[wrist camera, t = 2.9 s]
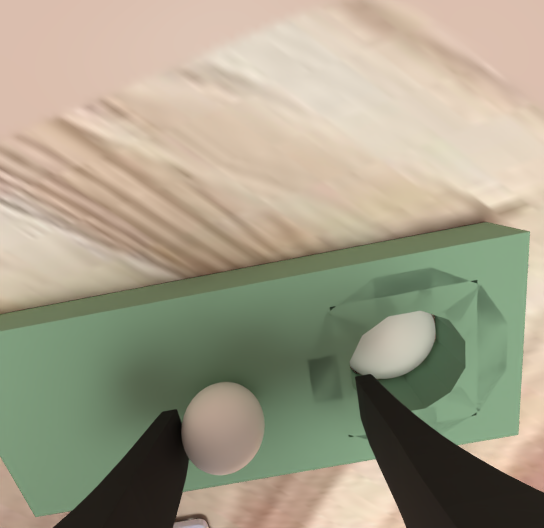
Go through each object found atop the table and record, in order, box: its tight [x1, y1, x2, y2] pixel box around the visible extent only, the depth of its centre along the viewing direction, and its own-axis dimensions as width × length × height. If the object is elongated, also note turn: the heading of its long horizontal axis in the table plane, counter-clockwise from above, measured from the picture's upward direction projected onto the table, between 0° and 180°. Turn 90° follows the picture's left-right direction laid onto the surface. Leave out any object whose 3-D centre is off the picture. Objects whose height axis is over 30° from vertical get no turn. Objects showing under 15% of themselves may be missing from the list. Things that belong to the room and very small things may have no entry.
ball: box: [181, 382, 265, 475], centre depth 12 cm, size 3×3×3 cm
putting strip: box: [0, 222, 530, 517], centre depth 15 cm, size 24×10×2 cm, turn 101°
